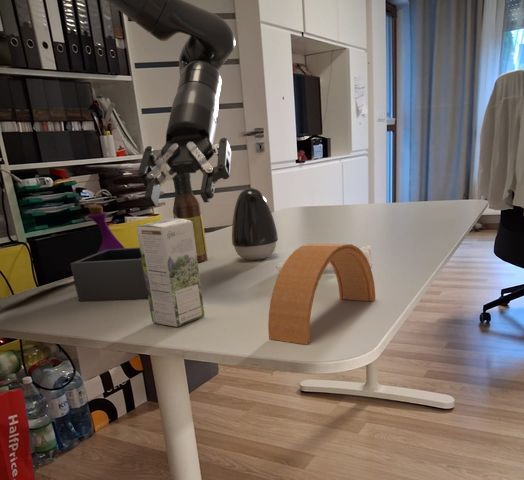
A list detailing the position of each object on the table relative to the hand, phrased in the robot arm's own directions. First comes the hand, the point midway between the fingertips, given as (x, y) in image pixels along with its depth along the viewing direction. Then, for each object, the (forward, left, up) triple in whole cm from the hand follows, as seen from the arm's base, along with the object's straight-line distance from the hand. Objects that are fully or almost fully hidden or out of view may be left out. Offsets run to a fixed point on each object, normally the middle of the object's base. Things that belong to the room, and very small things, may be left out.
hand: (178, 201), depth 78 cm
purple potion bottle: (-30, +30, -17) cm, 45 cm away
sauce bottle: (-14, +38, -17) cm, 43 cm away
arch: (+22, -7, -17) cm, 29 cm away
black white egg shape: (+1, +38, -17) cm, 41 cm away
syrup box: (0, -6, -17) cm, 18 cm away
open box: (-18, +13, -17) cm, 27 cm away
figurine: (+18, +22, -17) cm, 33 cm away
